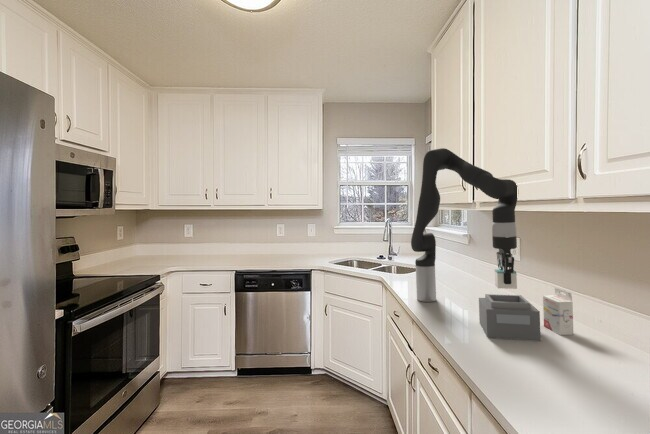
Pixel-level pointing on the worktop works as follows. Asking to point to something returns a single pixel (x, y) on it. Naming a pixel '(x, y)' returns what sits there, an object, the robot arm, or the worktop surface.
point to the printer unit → (509, 317)
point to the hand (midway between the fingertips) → (505, 282)
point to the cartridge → (500, 280)
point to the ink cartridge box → (558, 312)
